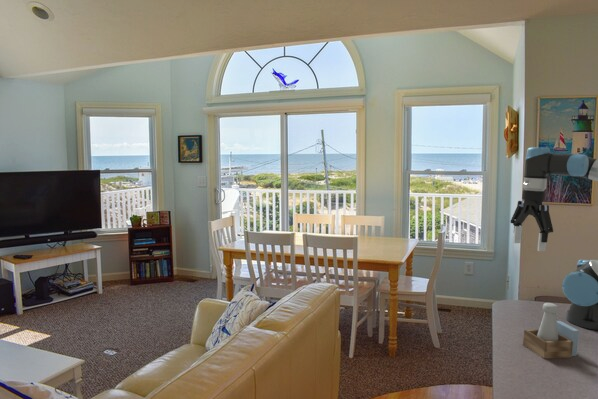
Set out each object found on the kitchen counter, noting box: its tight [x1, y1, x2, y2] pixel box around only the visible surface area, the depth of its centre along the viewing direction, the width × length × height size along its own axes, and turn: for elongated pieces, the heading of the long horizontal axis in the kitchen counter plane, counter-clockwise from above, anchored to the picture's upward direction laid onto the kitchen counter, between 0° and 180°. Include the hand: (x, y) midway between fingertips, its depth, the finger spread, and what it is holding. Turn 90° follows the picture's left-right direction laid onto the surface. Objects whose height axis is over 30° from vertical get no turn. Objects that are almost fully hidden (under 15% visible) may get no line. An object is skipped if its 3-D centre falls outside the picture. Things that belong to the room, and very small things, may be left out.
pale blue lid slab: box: [557, 320, 580, 357], centre depth 142 cm, size 2×8×8 cm, turn 10°
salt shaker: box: [537, 302, 560, 341], centre depth 141 cm, size 6×6×13 cm
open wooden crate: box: [522, 328, 573, 359], centre depth 142 cm, size 10×10×5 cm
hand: (528, 246), depth 169 cm, fingers open, 13 cm apart
